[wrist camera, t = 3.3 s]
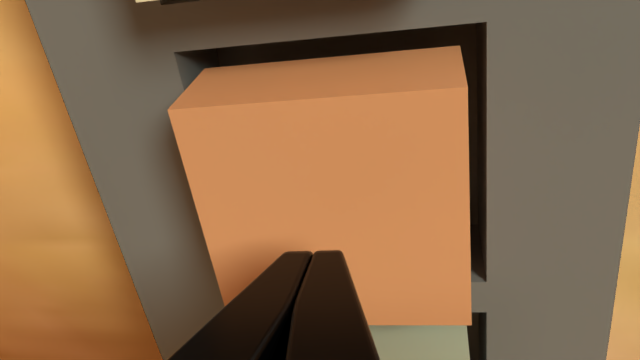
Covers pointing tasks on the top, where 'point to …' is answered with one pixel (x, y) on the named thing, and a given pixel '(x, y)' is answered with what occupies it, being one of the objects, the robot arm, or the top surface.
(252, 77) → the terracotta key
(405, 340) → the sage key
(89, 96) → the button panel
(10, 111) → the top surface
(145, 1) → the sand key
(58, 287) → the top surface
